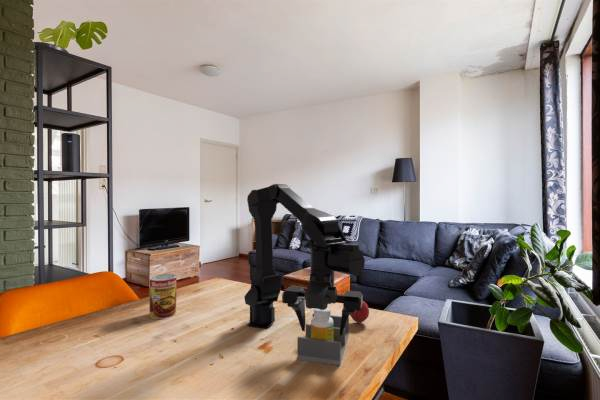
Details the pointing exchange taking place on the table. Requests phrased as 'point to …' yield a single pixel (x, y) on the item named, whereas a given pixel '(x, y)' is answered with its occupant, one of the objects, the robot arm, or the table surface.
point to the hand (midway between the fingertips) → (322, 332)
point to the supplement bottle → (322, 325)
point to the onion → (361, 314)
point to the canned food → (162, 296)
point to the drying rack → (324, 345)
